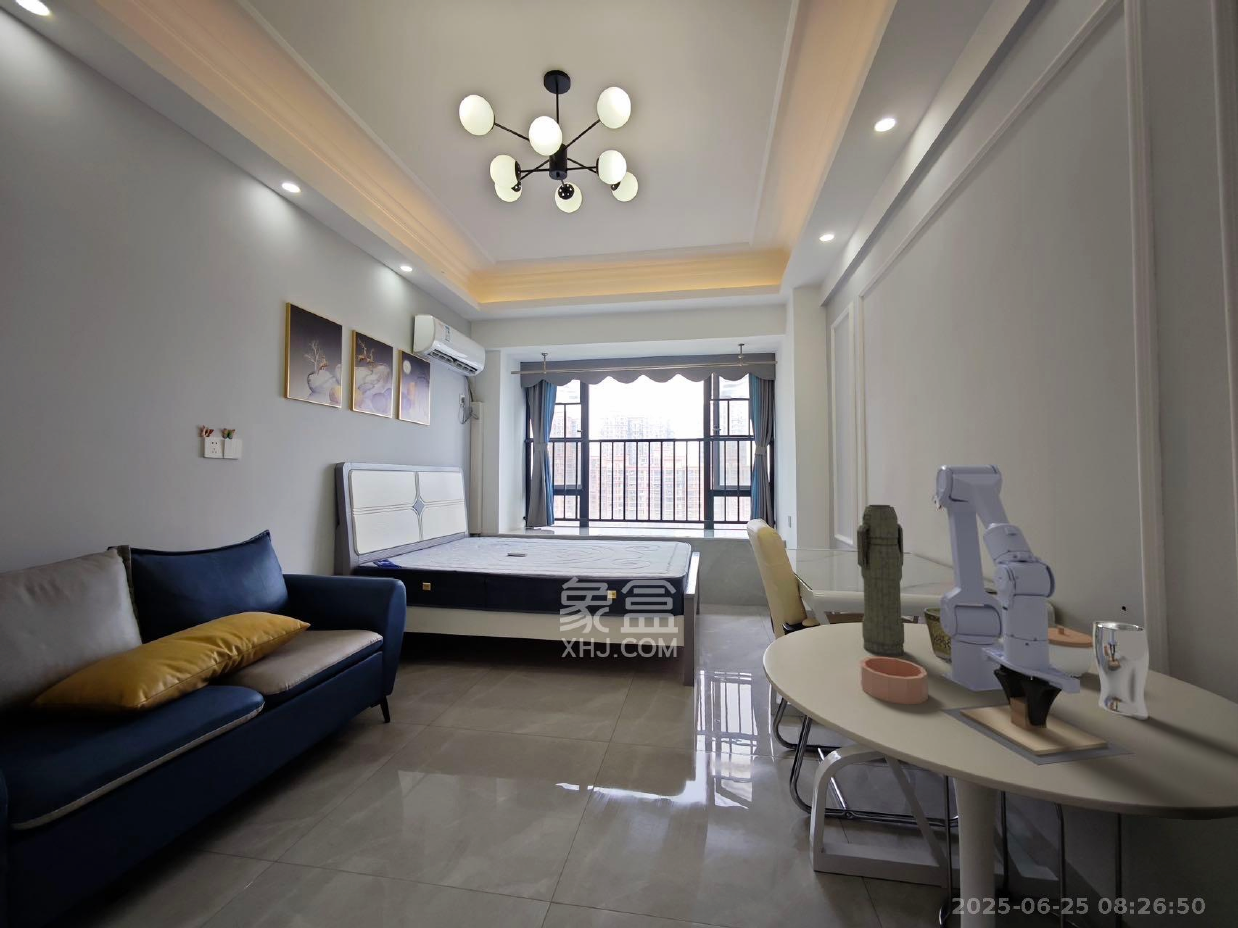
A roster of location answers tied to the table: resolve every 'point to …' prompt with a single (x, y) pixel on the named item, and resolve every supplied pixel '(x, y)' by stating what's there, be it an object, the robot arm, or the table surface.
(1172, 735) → the table surface
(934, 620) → the ceramic cup
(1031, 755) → the mat
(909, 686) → the bowl
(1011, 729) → the lid
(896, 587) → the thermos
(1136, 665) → the silver metal tumbler
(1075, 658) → the lidded jar
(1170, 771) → the table surface
